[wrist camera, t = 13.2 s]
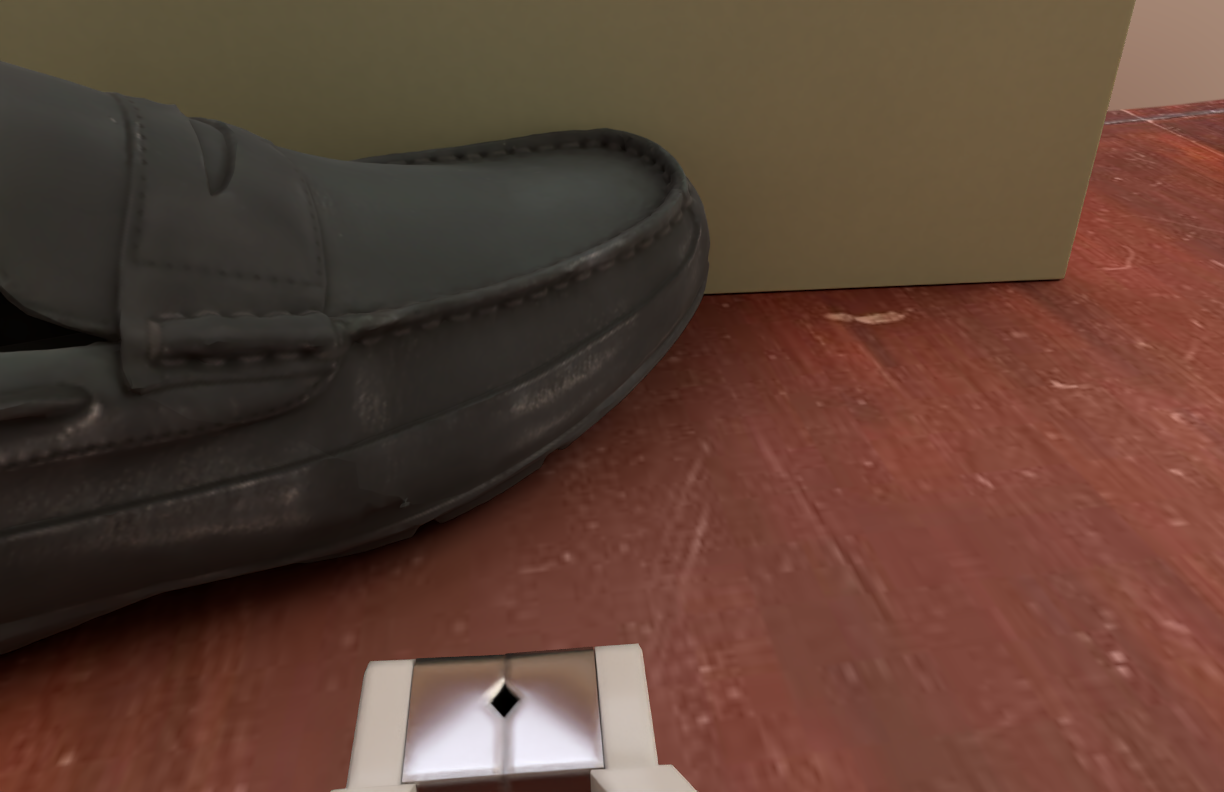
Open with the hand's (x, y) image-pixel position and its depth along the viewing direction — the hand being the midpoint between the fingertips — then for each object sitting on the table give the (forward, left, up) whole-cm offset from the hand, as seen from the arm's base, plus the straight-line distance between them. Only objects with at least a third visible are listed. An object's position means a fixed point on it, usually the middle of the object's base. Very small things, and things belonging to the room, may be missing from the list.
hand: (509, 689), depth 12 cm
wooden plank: (+2, +20, -6) cm, 21 cm away
